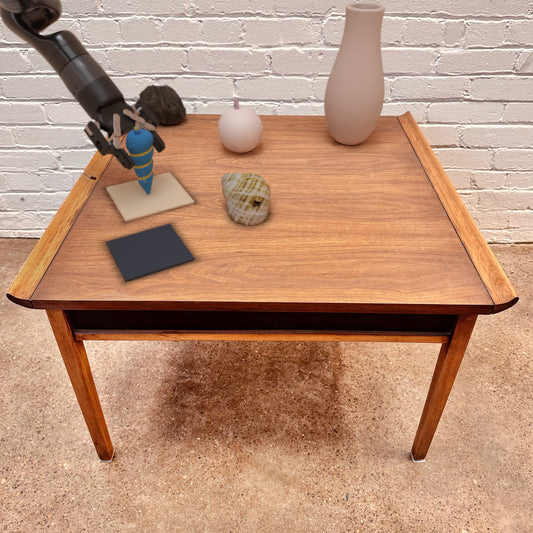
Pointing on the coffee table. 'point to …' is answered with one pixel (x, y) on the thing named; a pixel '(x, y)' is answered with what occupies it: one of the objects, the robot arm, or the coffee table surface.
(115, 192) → the cream mat
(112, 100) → the robot arm
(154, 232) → the slate mat
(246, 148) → the ornament
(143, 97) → the rock
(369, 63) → the vase
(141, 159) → the ornament
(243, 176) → the seashell
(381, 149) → the coffee table surface
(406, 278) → the coffee table surface
